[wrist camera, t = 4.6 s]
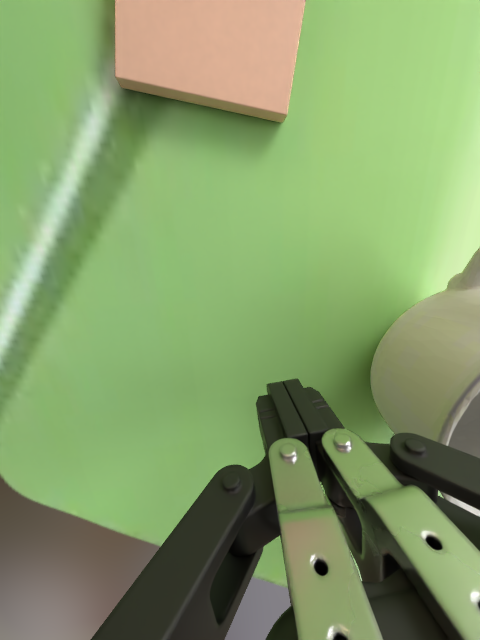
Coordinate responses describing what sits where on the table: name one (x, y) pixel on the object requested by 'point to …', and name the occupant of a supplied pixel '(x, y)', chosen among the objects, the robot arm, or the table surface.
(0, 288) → the table surface
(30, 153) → the table surface
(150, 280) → the table surface
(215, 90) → the sticky note pad
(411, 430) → the teacup
